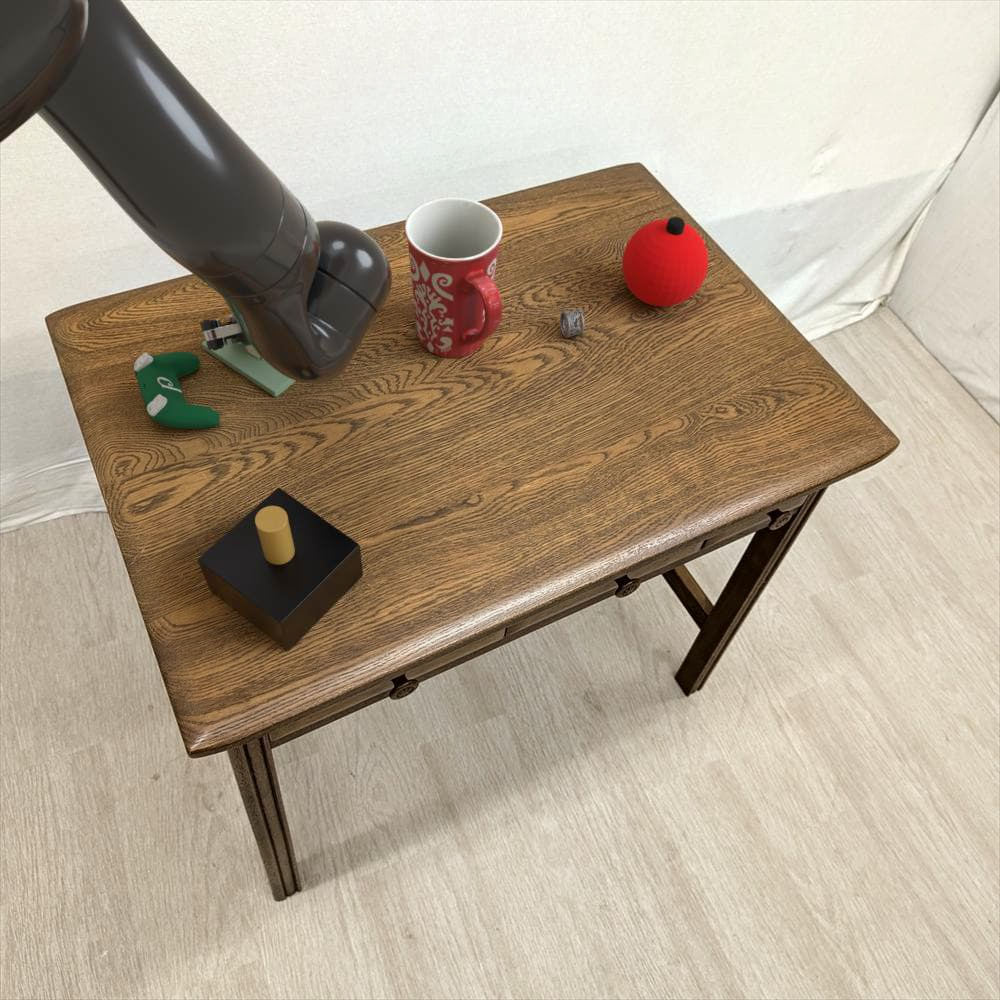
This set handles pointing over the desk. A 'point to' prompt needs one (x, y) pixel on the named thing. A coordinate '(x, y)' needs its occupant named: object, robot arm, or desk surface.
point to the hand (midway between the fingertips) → (268, 321)
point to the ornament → (665, 262)
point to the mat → (251, 367)
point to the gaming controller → (171, 391)
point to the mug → (454, 274)
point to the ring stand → (282, 567)
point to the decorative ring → (572, 318)
